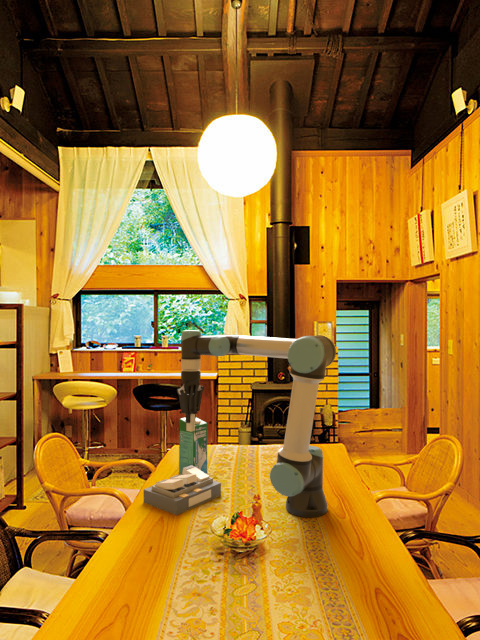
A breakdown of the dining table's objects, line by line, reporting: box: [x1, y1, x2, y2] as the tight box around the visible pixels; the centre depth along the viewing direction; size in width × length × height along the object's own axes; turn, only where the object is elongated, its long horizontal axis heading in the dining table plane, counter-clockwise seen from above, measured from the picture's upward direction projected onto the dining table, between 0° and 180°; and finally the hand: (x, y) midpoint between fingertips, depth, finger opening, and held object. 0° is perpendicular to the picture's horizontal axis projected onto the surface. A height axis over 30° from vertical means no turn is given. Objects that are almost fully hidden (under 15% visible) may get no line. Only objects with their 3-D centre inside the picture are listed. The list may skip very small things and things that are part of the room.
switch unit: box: [143, 476, 222, 516], centre depth 181 cm, size 18×24×7 cm
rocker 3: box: [182, 465, 210, 482], centre depth 186 cm, size 10×5×3 cm, turn 51°
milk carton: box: [178, 416, 208, 475], centre depth 211 cm, size 9×9×25 cm
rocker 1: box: [154, 478, 184, 490], centre depth 176 cm, size 10×5×3 cm, turn 51°
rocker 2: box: [168, 474, 197, 484], centre depth 181 cm, size 10×5×3 cm, turn 51°
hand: (190, 430), depth 181 cm, fingers closed
